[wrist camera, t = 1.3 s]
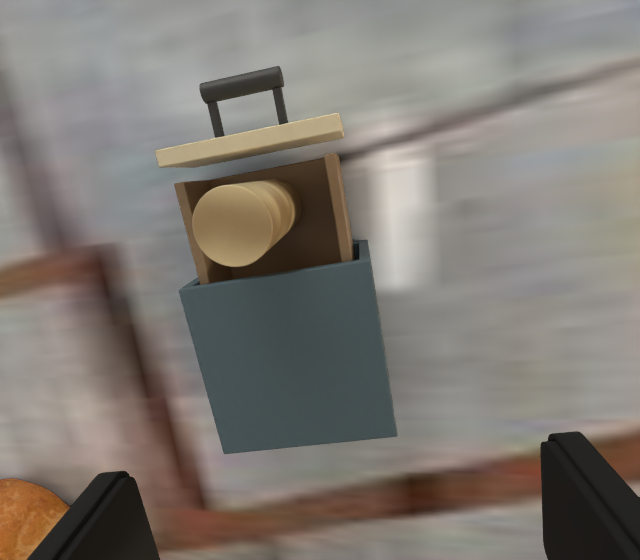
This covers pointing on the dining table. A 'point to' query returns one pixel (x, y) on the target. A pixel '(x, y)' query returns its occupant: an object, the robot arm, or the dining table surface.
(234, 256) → the cylinder
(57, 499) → the bread
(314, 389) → the cabinet
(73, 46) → the dining table surface
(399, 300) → the dining table surface
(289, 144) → the drawer
